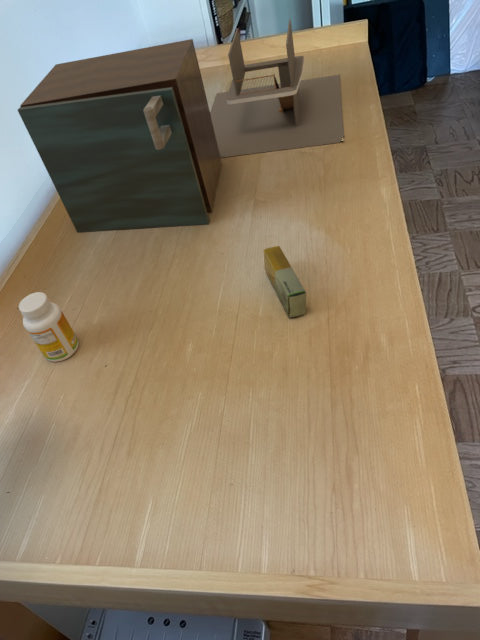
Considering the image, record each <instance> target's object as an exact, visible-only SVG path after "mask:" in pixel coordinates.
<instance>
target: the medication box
mask: <svg viewBox="0 0 480 640" xmlns="http://www.w3.org/2000/svg"><path fill="white" fill-rule="evenodd" d="M263 263H264V271H265V273H266V275H267V277H268V279H269V281H270V283H271V285H272V286H273V289H274V291H275V293H276V295H277V297H278V299H279V302H280V303H281V305H282V307H283V310H284V311H285V313H286V315H287V317H288V318H289V319H293V318H299V317H302V316H304V314H305V315H306V314H307V292H306V290H305V288H304V286H303V285H302V282H301V281H300V280H299V279H300V278H298V276H297V274H296V272H295V271H294V269H293V267H292V265H291V264H290V262H289V260H288V259H287V257H286V255H285V253H284V252H283V249H282V247H281V246H280V245H275V246H270V247H267V248H264V249H263Z"/></svg>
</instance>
